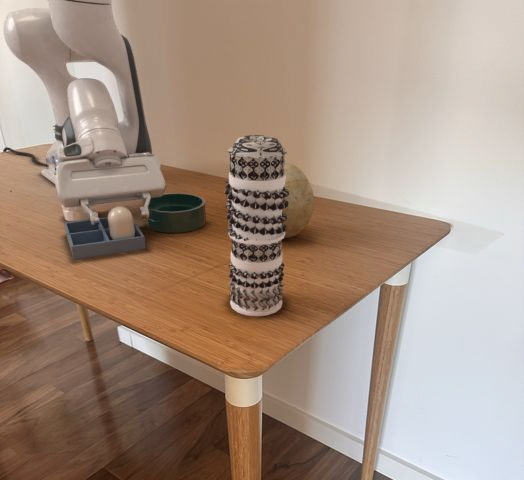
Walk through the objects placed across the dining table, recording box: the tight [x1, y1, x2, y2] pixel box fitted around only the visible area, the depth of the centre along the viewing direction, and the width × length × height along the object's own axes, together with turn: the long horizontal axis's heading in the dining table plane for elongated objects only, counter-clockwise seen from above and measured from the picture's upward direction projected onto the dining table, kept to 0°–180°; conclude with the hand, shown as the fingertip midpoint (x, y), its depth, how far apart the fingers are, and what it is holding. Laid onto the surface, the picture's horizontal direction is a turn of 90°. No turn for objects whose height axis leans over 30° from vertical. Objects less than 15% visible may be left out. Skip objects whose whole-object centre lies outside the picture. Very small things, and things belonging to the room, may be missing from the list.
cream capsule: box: [107, 205, 135, 240], centre depth 97 cm, size 5×5×8 cm
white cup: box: [52, 171, 96, 222], centre depth 110 cm, size 8×8×10 cm
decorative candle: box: [223, 134, 289, 317], centre depth 74 cm, size 9×9×25 cm
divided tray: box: [63, 216, 147, 261], centre depth 100 cm, size 14×14×3 cm
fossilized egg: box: [282, 161, 315, 239], centre depth 101 cm, size 13×13×15 cm
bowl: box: [142, 192, 207, 234], centre depth 108 cm, size 13×13×5 cm
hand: (121, 220), depth 96 cm, fingers open, 8 cm apart
